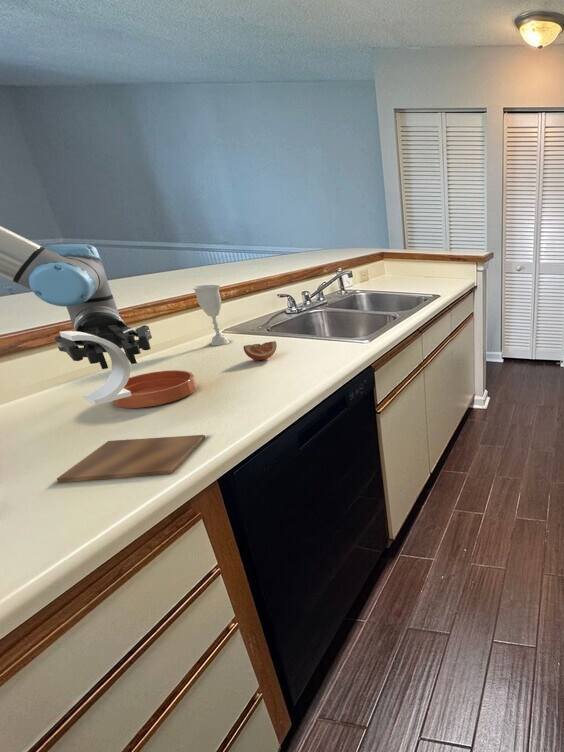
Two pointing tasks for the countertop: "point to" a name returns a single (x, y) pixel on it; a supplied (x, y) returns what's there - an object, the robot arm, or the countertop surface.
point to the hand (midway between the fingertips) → (117, 358)
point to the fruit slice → (260, 350)
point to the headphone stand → (119, 371)
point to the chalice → (211, 308)
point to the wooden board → (133, 458)
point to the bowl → (157, 388)
